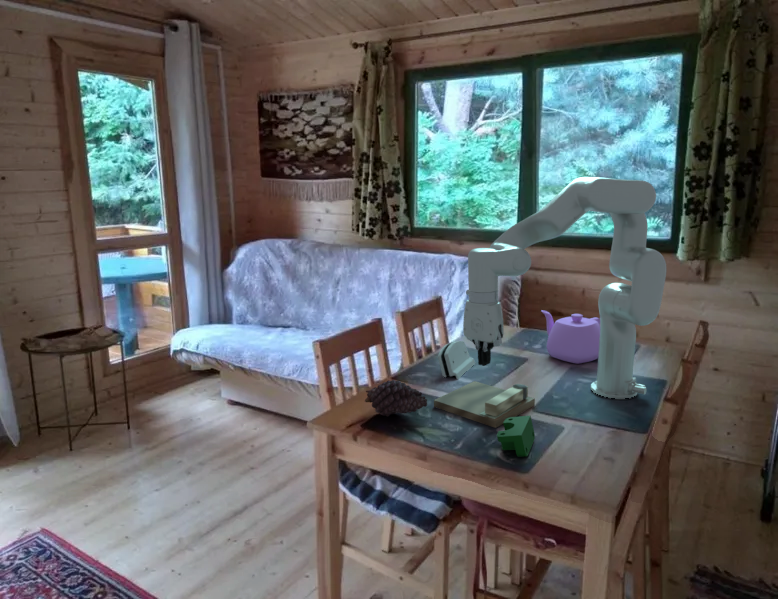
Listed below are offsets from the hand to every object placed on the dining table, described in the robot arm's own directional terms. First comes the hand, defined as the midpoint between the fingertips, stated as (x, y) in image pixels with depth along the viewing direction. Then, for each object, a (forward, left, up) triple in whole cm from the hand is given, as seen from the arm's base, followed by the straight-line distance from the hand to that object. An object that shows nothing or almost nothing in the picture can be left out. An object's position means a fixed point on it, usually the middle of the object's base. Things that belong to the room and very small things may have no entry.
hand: (484, 363), depth 155 cm
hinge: (+25, -21, -14) cm, 35 cm away
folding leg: (-6, -2, -11) cm, 12 cm away
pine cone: (+15, +19, -13) cm, 28 cm away
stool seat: (+1, -2, -13) cm, 13 cm away
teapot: (+2, -56, -13) cm, 58 cm away
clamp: (-17, +12, -14) cm, 25 cm away
